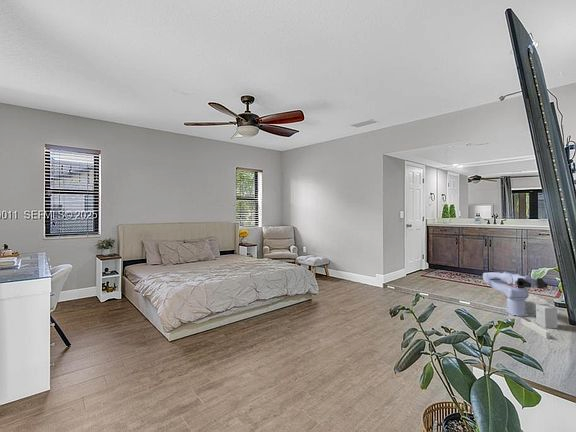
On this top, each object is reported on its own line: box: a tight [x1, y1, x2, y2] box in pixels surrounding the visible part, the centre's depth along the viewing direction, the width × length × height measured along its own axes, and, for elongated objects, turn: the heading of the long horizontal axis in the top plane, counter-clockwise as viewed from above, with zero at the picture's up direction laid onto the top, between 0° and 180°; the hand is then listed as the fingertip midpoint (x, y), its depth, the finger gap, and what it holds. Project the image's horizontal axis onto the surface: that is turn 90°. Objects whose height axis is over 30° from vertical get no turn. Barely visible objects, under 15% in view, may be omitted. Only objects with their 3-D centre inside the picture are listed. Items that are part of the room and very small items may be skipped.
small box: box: [535, 303, 559, 329], centre depth 160 cm, size 8×6×10 cm
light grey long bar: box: [519, 316, 551, 339], centre depth 154 cm, size 21×2×3 cm, turn 171°
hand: (538, 285), depth 159 cm, fingers open, 7 cm apart
